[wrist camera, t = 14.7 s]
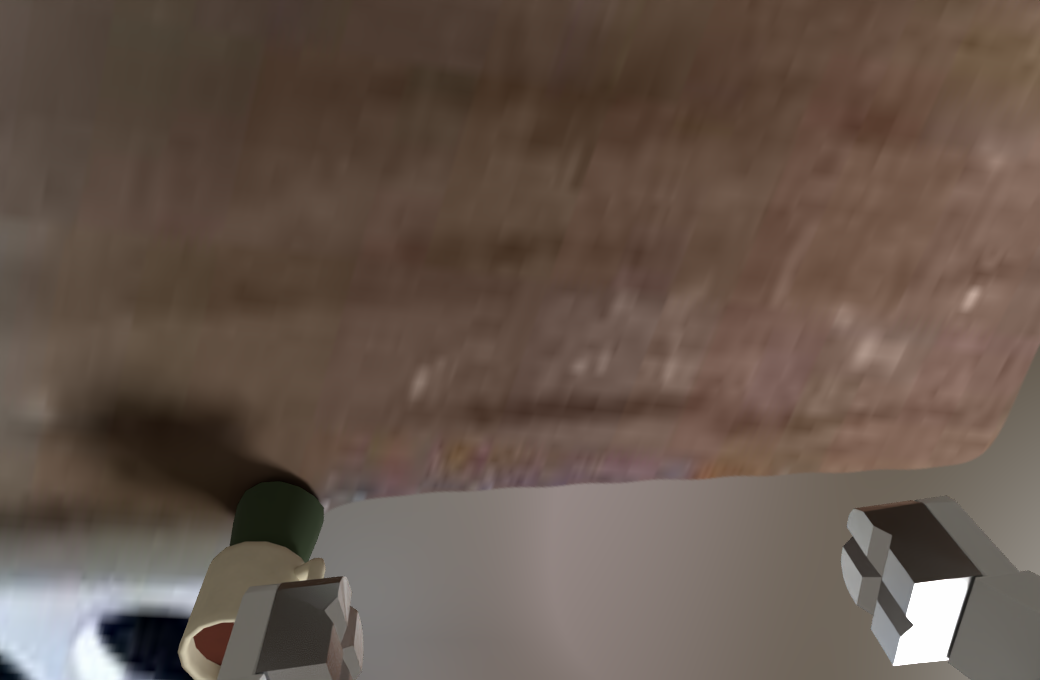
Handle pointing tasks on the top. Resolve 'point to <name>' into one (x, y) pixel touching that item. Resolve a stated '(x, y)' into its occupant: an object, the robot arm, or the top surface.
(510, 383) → the top surface
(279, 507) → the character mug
